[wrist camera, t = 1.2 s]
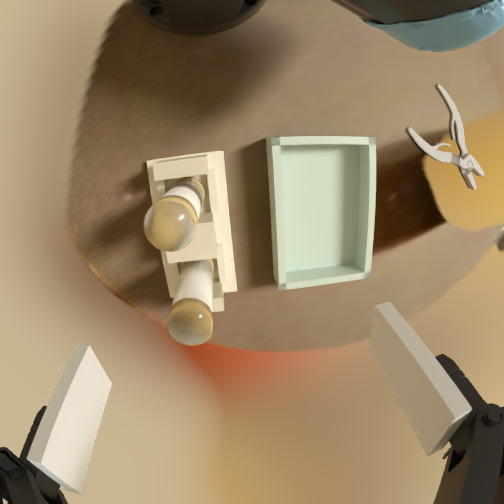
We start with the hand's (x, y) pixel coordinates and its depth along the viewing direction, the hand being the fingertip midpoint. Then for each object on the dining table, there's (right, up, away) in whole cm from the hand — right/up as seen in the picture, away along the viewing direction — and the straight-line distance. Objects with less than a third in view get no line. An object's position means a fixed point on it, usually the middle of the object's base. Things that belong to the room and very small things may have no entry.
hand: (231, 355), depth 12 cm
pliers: (+29, +19, +19) cm, 39 cm away
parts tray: (+8, +10, +20) cm, 24 cm away
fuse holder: (-5, +7, +19) cm, 21 cm away
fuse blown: (-6, +11, +17) cm, 21 cm away
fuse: (-5, +3, +20) cm, 21 cm away
